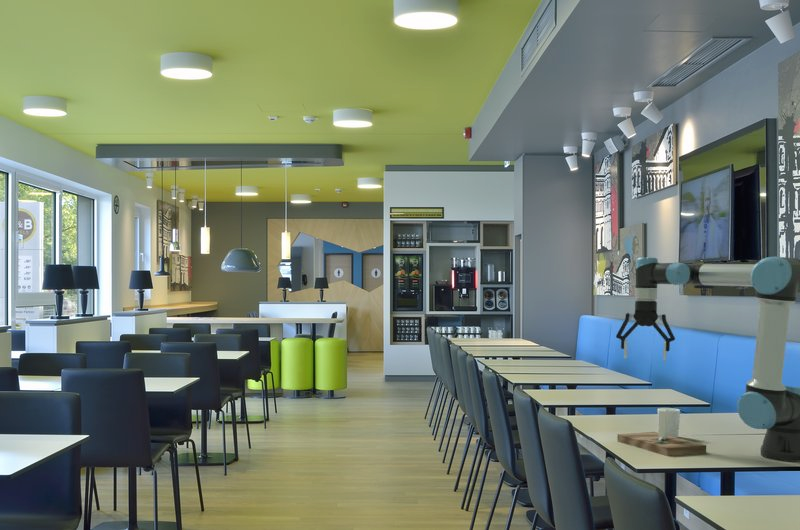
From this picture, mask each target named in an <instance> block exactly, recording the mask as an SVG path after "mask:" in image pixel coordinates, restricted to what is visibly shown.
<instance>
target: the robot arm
mask: <svg viewBox="0 0 800 530" xmlns="http://www.w3.org/2000/svg"><path fill="white" fill-rule="evenodd" d="M635 261H636V262H635V268H634V270H635V288H634V289H635V293H634V294H635V295H634V298H635V299H636V300H635V303H634V313H629V312H626V314H625V317H624V318H625V319H624V320H623V323H622V325H620V328H619V330H618V331H617V334H616V336H615V337H616V339H619V340H620V342H621V343H620V349H621V350H623V359H626V360H627V359H628V340H627V338H628V337H629V336H630V335H631V333H632V332H633V331H634V330H635V329H636V328H637V327H638V326H641V327H653V328H654V330H656V331H657V332H658V333H659V335H660V336H661V338H663V340H664V342H663V357H662V358H663V362H666V361H667V352H670V349H671V348H670V347H671V346H670V344H671V342H673V341H675V340H676V337H675V335H674V333H673V331H672V329H671V327H670V325H669V323H668V321H667V315H666V314H665V313H663V314H658V313H657V312H658V302H657V299H658V285H673V286H680V285H681V286H682V285H683V286H684V285H686V286H719V287H721V286H722V287H723V286H724V287H751V288H752V287H753V288H754V290H755V299H756V300H757V302H758V303H759V310H758V319H757V328H756V329H757V330H756V337H755V349H754V358H753V367H752V375H751V379H749V380H748V381H746V385H745V392H744V393H743V394H742V395H741V396H740V397H739V399H738V401H737V405H736V408H737V409H736V410H737V413H738V416H739V418H740V419H741V420H742V421H743V423H744V424H745V425H747V426H748V427H749V428H753V429H754V430H755V429H757V430H766V432H765V433H764V434H765V435H764V438H763V441H762V444H761V445H760V456H762V457H764V458H768V459H772V460H777V459H778V460H777V461H785V460H787V461H788V462H800V387H798V386H790V385H789V386H788V385H784V383H783V375H784V374H783V372H784V365H785V364H784V362H785V355H786V346H787V338H788V337H787V336H788V335H787V334H788V326H789V317H790V309H791V308H790V307H791V306H793V305H794V304H795V303H796V302H797V301H796V300H797V295H798V294H800V258H796V257H784V256H783V257H782V256H768V257H764V258H762V259H760V260H759V261H758V262H756V263H754V264H752V263H750V264H749V263H748V264H746V263H743V264H741V263H740V264H737V263H735V264H734V263H729V264H728V263H727V264H726V263H723V264H722V263H721V264H720V263H713V264H712V263H704V264H703V263H684V262H665V263H664V262H659V261H658V258H657V257H643V256H642V257H638V258H636V260H635ZM632 318H633V319H634V320H635V322H634V323H633V325H631V326H630V328H629V329H628V330H627V331H626V332H625V333H624V335H623V332H624V330H625V329H626V327H627V325H628V323H629V321H630V320H632ZM658 319H659V320H660V321H662V324H663V325H664V328H665V329H666V332H667V334H668V335H667V334H666V333H665V332H664V331H663V330H662V329H661V327H660V326H659V325H658V323H657V322H656V321H657V320H658ZM668 336H669V337H668Z"/></svg>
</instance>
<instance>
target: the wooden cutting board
mask: <svg viewBox="0 0 800 530" xmlns="http://www.w3.org/2000/svg"><path fill="white" fill-rule="evenodd" d="M616 440H617V442H619V443H622V444H625V445H629V446H633V447H636V448H639V449H642V450H646V451H649V452H653V453H656V454H659V455H664V456H666V455H667V456H666V457H671V456H670V455H672V456H682V455H683V454H686V455H696V453H699V454H707V444H706V445H705V444H702V443H698V442H694V441H691V440H688V439H684V438H681V437H678V438H676V437H672V436H668V435H667V438H666V439H662V440H661V441H658V432H656V431H647V432H630V433H617V439H616Z"/></svg>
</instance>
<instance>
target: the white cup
mask: <svg viewBox="0 0 800 530" xmlns="http://www.w3.org/2000/svg"><path fill="white" fill-rule="evenodd" d="M660 409H668V429H667V435H668V436H672V437H676V438H679V430H680V422H681V421H680V419H681V409H679V408H674V407H658V408H657V428H658V427H659V410H660Z"/></svg>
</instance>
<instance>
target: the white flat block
mask: <svg viewBox="0 0 800 530" xmlns="http://www.w3.org/2000/svg"><path fill="white" fill-rule="evenodd" d="M657 429H658V432H657V433H658V441H661V440H662V439H666V438H667V429H668V409H660V410H659V427H658V426H657Z"/></svg>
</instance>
